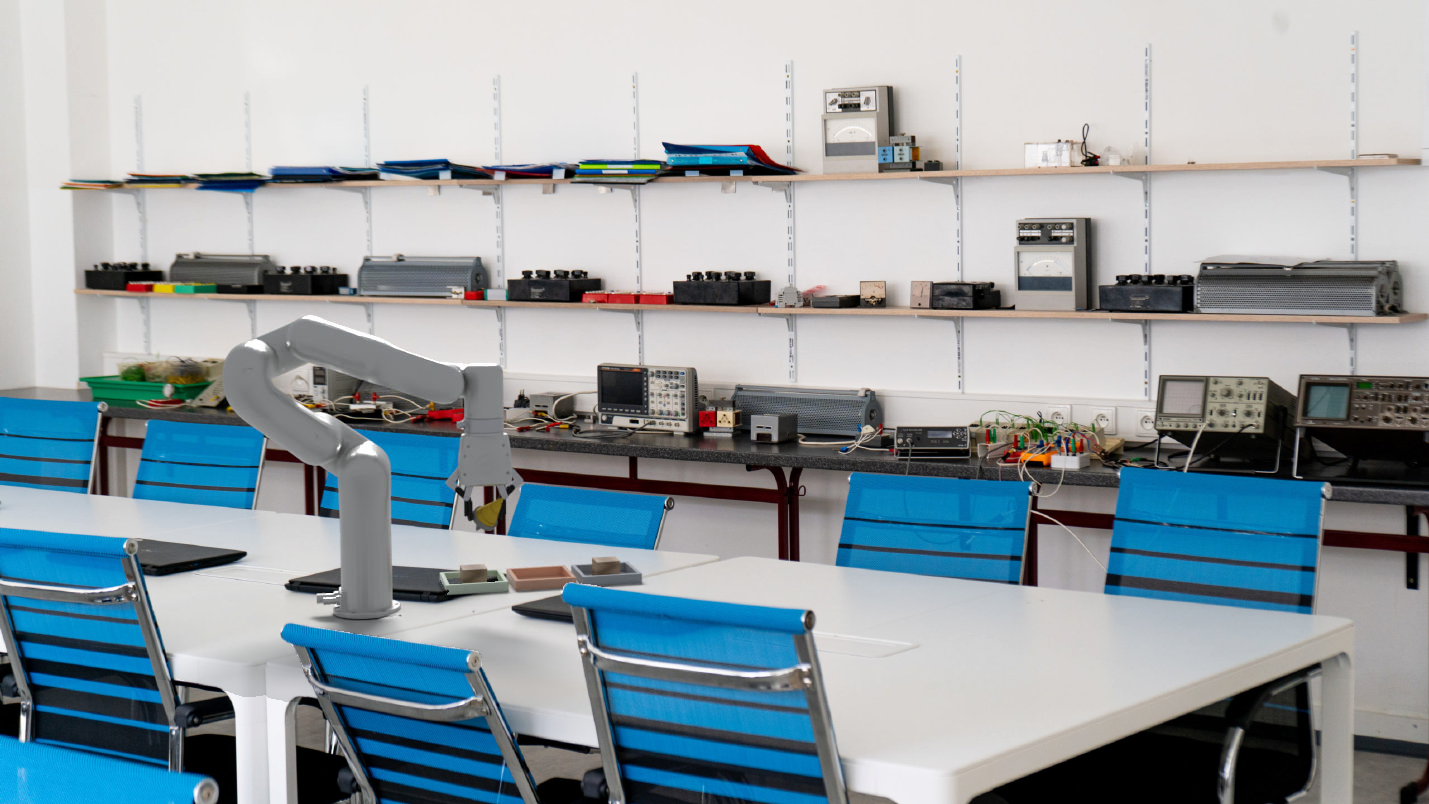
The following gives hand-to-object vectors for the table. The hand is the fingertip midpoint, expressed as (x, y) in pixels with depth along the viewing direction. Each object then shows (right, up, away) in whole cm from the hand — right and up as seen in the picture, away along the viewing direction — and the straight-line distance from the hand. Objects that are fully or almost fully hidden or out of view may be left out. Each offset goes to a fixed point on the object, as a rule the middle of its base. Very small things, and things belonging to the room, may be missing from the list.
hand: (485, 518), depth 257 cm
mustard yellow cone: (+1, -2, 0) cm, 3 cm away
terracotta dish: (+8, -16, +20) cm, 27 cm away
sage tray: (-5, -16, +16) cm, 23 cm away
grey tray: (+22, -15, +24) cm, 36 cm away
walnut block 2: (+22, -15, +24) cm, 36 cm away
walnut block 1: (-5, -15, +16) cm, 23 cm away
